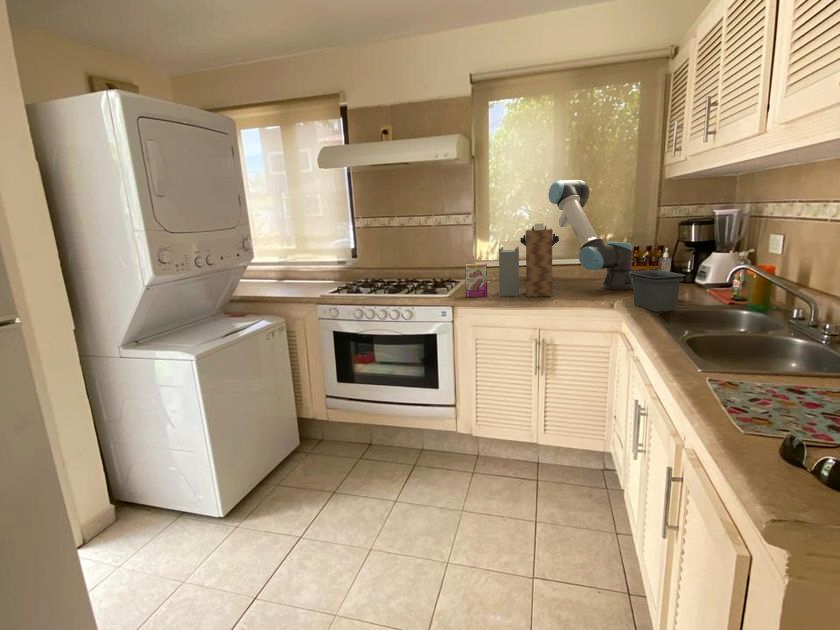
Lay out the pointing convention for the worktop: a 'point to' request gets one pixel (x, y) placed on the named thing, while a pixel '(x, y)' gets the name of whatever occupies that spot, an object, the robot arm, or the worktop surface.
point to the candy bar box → (476, 280)
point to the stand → (539, 262)
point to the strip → (539, 226)
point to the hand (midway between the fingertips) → (539, 232)
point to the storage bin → (656, 289)
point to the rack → (509, 272)
